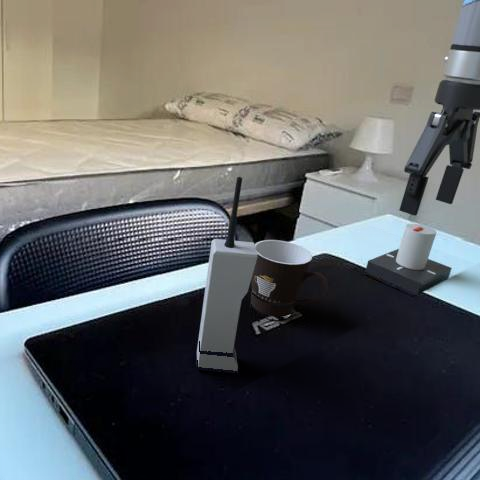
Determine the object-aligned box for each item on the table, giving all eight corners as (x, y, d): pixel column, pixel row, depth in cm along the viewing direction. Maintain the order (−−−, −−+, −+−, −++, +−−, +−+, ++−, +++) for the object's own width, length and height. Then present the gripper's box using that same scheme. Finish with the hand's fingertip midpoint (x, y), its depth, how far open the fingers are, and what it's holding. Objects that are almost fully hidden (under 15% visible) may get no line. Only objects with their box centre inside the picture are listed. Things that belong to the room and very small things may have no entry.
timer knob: (403, 256, 95) (414, 220, 92) (429, 266, 92) (442, 229, 89) (390, 261, 92) (401, 224, 89) (416, 272, 89) (429, 234, 86)
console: (447, 282, 93) (452, 267, 92) (416, 298, 86) (421, 282, 85) (396, 261, 100) (400, 247, 99) (364, 274, 93) (368, 259, 92)
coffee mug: (233, 299, 80) (242, 242, 76) (277, 292, 84) (288, 237, 80) (275, 339, 71) (288, 277, 67) (323, 330, 74) (338, 270, 70)
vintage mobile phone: (236, 375, 62) (270, 184, 53) (197, 371, 62) (223, 179, 53) (234, 357, 66) (265, 174, 56) (196, 354, 66) (221, 170, 56)
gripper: (473, 78, 89) (437, 191, 98) (406, 77, 74) (369, 210, 83) (521, 85, 84) (477, 203, 92) (458, 84, 69) (413, 226, 78)
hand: (426, 207), depth 88 cm, fingers open, 13 cm apart
